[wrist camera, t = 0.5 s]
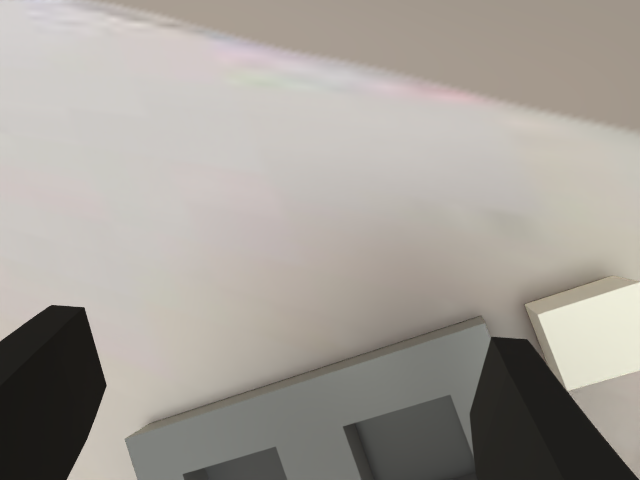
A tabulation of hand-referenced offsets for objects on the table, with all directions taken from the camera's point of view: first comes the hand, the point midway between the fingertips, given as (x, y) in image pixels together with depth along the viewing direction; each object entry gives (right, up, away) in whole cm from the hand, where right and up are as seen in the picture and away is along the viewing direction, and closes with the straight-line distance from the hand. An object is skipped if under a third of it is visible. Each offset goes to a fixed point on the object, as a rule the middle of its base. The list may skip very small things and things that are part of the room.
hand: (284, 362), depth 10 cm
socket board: (+2, -12, +25) cm, 28 cm away
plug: (+16, -3, +22) cm, 27 cm away
